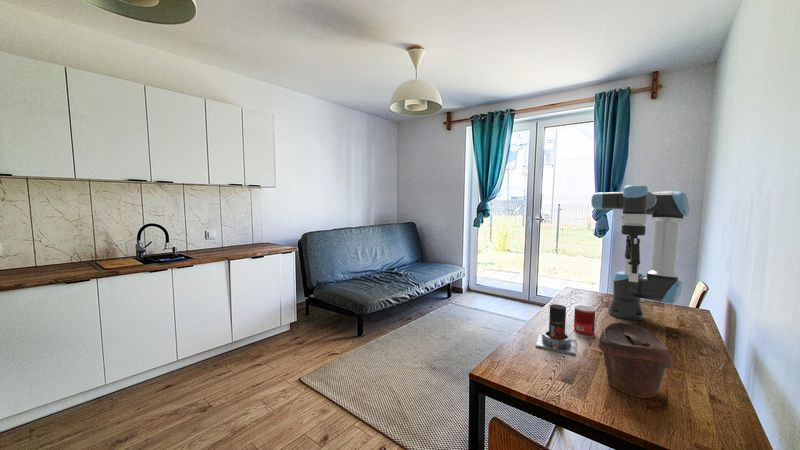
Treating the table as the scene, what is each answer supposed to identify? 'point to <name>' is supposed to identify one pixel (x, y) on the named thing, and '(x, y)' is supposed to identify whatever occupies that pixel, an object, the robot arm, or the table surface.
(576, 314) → the canned food
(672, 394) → the table surface
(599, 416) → the table surface
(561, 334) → the deodorant
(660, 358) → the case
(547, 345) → the hub socket
